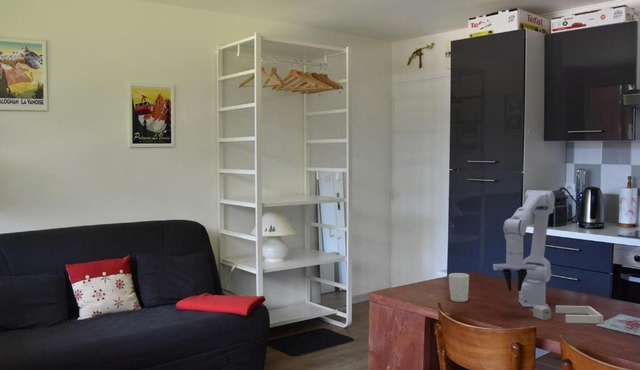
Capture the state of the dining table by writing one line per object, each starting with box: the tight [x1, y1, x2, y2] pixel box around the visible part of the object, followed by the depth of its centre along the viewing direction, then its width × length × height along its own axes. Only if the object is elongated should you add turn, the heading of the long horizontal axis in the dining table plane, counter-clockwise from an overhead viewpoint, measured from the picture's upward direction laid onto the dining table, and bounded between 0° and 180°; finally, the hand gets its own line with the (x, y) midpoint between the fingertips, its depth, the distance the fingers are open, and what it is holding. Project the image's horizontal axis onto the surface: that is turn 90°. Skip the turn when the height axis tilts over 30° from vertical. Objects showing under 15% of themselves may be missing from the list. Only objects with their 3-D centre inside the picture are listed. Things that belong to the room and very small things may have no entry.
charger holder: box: [555, 305, 604, 324], centre depth 203 cm, size 12×13×2 cm
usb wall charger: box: [529, 305, 552, 321], centre depth 204 cm, size 4×7×4 cm, turn 23°
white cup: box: [448, 272, 470, 303], centre depth 229 cm, size 8×8×10 cm
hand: (514, 290), depth 205 cm, fingers open, 3 cm apart
